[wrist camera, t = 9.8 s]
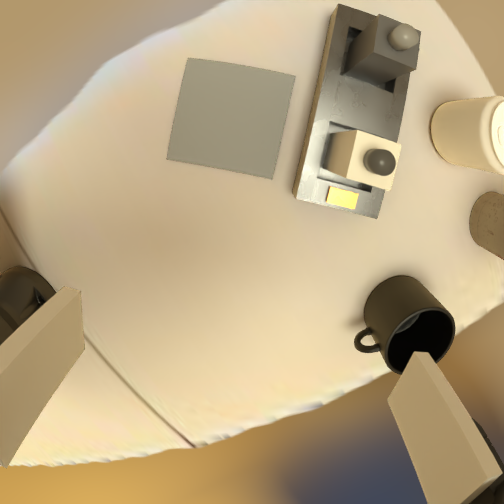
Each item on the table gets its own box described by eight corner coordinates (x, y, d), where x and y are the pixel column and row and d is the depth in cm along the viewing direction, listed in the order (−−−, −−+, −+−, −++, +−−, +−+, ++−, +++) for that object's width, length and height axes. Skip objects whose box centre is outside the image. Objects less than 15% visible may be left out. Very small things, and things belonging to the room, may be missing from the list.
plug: (322, 168, 33) (353, 181, 22) (330, 133, 32) (365, 129, 21) (356, 177, 34) (399, 195, 22) (364, 143, 32) (412, 145, 21)
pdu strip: (365, 211, 36) (378, 220, 31) (292, 192, 35) (296, 199, 31) (401, 41, 29) (417, 31, 24) (330, 16, 28) (339, 1, 24)
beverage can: (479, 162, 33) (540, 175, 22) (432, 166, 34) (491, 180, 22) (472, 102, 30) (533, 98, 19) (423, 101, 31) (482, 92, 20)
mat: (167, 159, 34) (166, 159, 34) (188, 58, 31) (187, 57, 30) (272, 179, 35) (272, 179, 35) (295, 76, 31) (295, 76, 31)
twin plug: (343, 75, 30) (381, 45, 19) (349, 44, 29) (387, 5, 17) (376, 86, 30) (427, 65, 19) (382, 55, 29) (431, 25, 17)
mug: (337, 296, 40) (356, 335, 31) (420, 264, 38) (454, 294, 29) (352, 351, 42) (369, 393, 34) (427, 321, 41) (455, 356, 32)
